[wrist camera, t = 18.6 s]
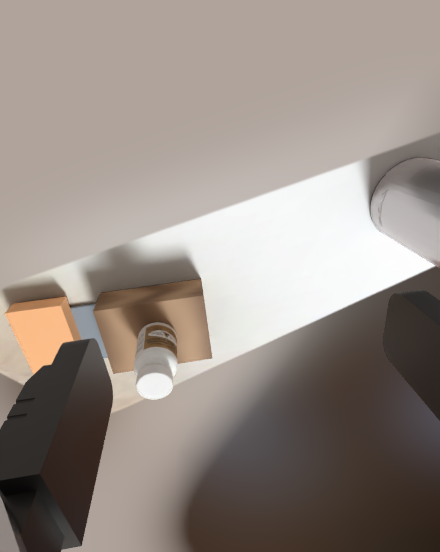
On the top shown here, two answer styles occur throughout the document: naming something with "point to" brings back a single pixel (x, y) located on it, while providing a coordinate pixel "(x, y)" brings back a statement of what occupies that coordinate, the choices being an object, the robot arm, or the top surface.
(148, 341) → the pill bottle
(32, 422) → the robot arm
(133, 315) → the block
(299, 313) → the top surface
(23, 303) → the thin peach tile
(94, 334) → the mat
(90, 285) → the top surface
